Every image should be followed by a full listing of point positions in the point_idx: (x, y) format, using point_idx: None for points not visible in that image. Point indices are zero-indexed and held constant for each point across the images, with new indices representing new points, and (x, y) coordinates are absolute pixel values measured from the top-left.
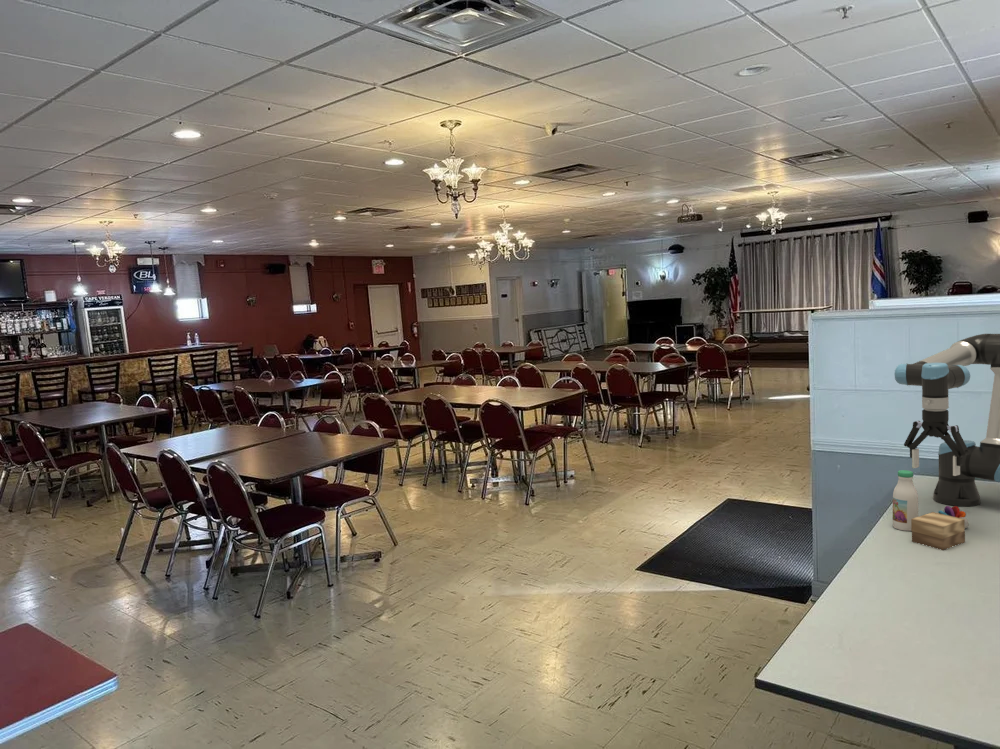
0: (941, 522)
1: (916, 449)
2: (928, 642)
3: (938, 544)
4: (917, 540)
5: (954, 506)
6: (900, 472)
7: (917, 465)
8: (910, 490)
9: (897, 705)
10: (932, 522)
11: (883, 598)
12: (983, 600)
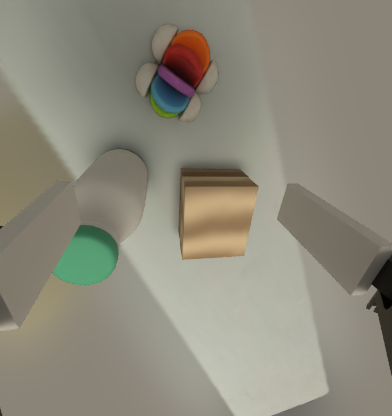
0: (232, 238)
1: (5, 300)
2: (289, 370)
3: None
4: None
5: (183, 55)
6: (80, 284)
7: (71, 201)
8: (131, 232)
9: (294, 403)
10: (220, 249)
11: (241, 356)
12: (305, 310)
